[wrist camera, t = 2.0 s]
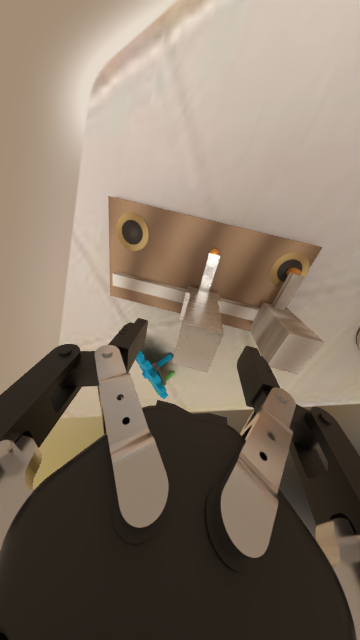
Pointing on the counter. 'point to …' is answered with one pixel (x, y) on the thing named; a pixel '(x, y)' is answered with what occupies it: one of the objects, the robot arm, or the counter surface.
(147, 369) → the blue branching piece
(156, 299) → the plate
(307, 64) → the counter surface
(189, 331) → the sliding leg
